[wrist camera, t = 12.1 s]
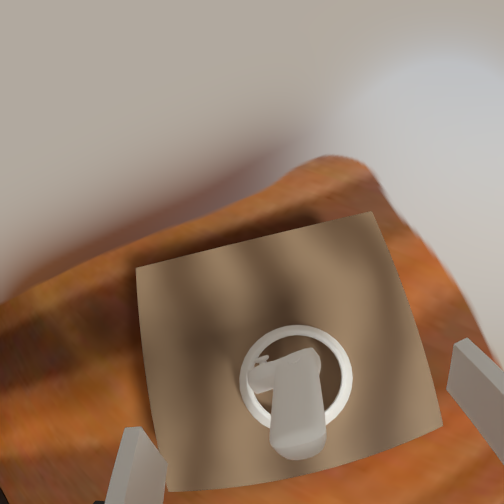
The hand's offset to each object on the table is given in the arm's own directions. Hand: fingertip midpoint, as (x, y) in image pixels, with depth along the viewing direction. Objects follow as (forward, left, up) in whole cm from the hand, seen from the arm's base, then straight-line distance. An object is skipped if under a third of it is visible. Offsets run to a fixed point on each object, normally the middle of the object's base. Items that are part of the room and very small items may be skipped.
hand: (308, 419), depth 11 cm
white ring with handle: (0, +2, -9) cm, 10 cm away
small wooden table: (0, +4, -16) cm, 16 cm away
